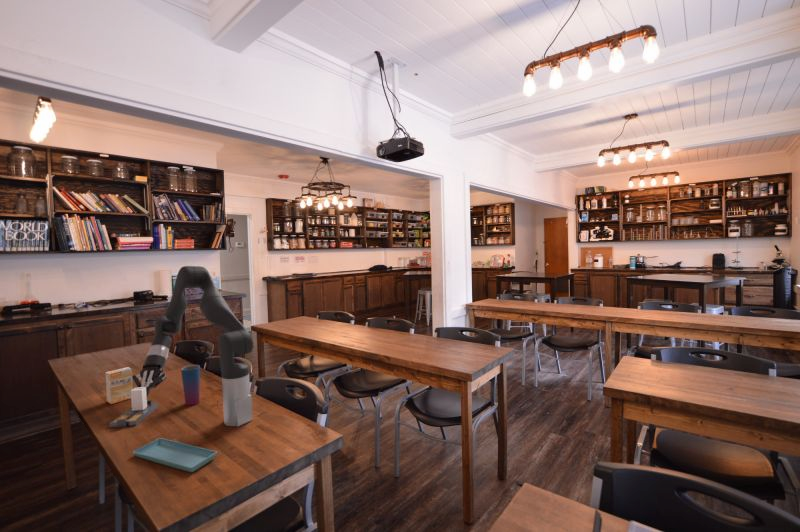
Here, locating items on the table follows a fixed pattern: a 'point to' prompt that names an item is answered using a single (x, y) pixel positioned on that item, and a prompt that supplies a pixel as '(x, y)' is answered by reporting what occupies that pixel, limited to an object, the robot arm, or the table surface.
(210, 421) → the table surface
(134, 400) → the fader knob
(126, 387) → the supplement box
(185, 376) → the cup
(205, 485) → the table surface
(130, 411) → the console
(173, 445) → the rectangular tray
